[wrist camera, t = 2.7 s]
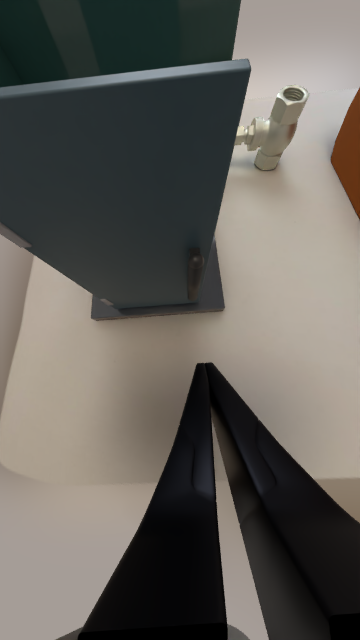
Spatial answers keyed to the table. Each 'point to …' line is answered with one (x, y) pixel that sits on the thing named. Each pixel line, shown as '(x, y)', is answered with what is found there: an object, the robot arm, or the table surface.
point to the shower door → (122, 176)
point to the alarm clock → (349, 153)
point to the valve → (274, 127)
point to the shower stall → (118, 68)
